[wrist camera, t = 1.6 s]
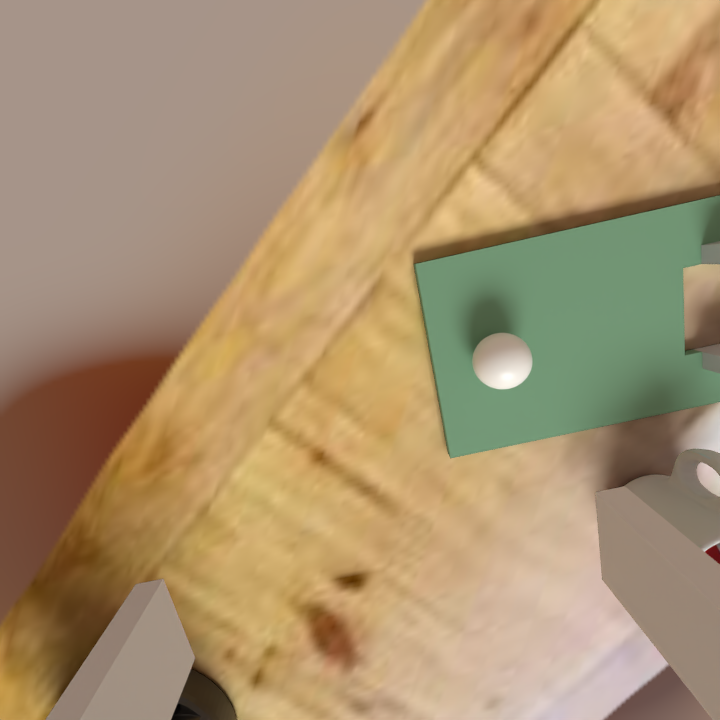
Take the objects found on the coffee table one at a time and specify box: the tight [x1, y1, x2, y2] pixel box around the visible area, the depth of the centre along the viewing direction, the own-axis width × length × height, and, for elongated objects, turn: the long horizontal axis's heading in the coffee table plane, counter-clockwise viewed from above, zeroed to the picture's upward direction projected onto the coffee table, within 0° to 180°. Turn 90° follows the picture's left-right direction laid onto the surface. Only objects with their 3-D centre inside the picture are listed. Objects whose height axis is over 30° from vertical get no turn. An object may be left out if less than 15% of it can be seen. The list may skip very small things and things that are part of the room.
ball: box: [472, 333, 533, 389], centre depth 25 cm, size 4×4×4 cm
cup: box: [625, 449, 720, 564], centre depth 27 cm, size 11×8×8 cm
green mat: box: [414, 195, 720, 458], centre depth 27 cm, size 25×14×1 cm, turn 102°
